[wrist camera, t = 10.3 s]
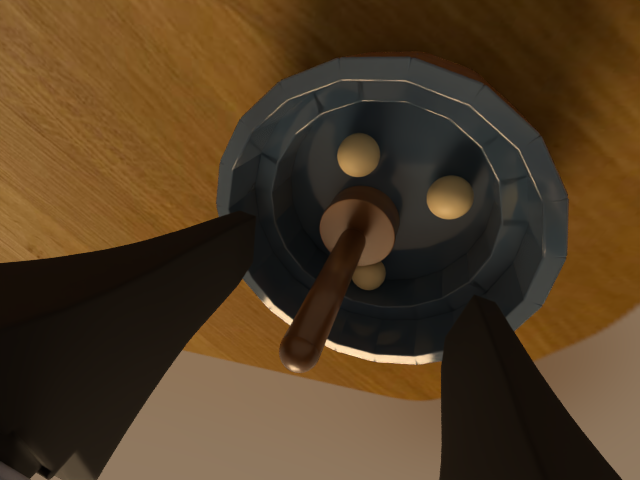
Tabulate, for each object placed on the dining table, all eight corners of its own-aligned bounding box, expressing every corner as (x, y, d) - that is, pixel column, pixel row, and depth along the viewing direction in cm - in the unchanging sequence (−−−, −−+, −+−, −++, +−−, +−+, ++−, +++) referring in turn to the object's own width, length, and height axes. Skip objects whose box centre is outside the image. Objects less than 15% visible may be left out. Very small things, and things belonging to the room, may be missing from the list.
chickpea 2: (388, 261, 17) (387, 294, 16) (356, 261, 18) (353, 292, 17) (383, 251, 15) (382, 286, 15) (348, 250, 16) (345, 285, 15)
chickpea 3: (474, 204, 14) (477, 224, 12) (431, 210, 14) (429, 229, 13) (469, 165, 13) (472, 180, 11) (424, 174, 14) (421, 189, 12)
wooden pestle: (406, 245, 16) (370, 416, 9) (340, 252, 17) (264, 401, 10) (390, 178, 14) (330, 319, 7) (320, 192, 16) (213, 319, 9)
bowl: (534, 288, 15) (564, 375, 11) (314, 295, 21) (282, 356, 17) (526, -8, 10) (577, -39, 6) (236, 104, 15) (163, 126, 12)
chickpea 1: (363, 172, 15) (393, 164, 13) (338, 186, 14) (368, 179, 12) (350, 134, 14) (380, 122, 13) (322, 146, 13) (352, 134, 12)
